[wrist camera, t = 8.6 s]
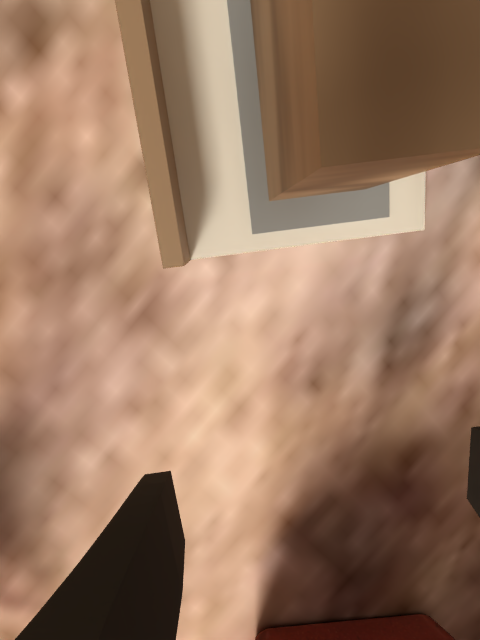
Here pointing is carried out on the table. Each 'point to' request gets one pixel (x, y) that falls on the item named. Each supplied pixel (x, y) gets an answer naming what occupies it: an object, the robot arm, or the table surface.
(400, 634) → the plant pot
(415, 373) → the table surface
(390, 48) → the brown slab
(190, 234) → the tan rimmed flat piece
